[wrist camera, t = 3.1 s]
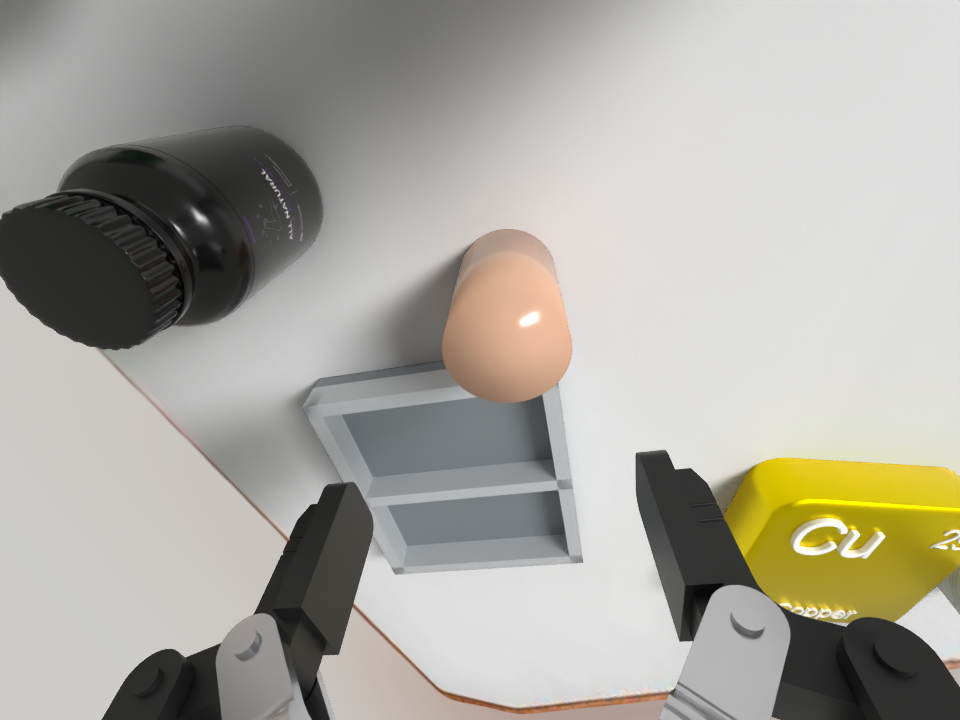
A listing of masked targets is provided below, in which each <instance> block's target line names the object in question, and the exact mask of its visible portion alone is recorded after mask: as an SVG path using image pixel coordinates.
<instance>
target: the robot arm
mask: <svg viewBox="0 0 960 720" xmlns="http://www.w3.org/2000/svg"><path fill="white" fill-rule="evenodd" d="M636 496H637V502H638V507H639V511H640V515H641V518H642V521H643V524H644V528H645V531H646V534H647V537H648V541H649V544H650V547H651V550H652V554H653V557H654V560H655V563H656V567H657V570H658V573H659V576H660V580H661V583H662V586H663V589H664V593H665V596H666V599H667V602H668V606H669V609H670V612H671V615H672V619H673V622H674V625H675V628H676V631H677V635H678V638H679V641H680V642H681V641H693V644H692V646H691V649H690V652H689V654H688V657H687V659H686V662H685V664H684V667H683V670H682V672H681V675H680V677H679V680H678V682H677V684H676V687H675V688H674V690H672V691H671V693H670V695H669V696H668V699H667V701H666V703H665V705H664V708H663V710H662V712H661V715H660V718H659V720H771V717H774V718H777V719H780V720H960V687H959V685H958V684H957V683H956V681H955V680H954V678H953V677H952V675H951V674H950V672H949V671H948V669H947V668H946V666H945V665H944V663H943V662H942V660H941V659H940V658H939V656H938V655H937V654H936V653H935V651H934V650H933V649H932V648H931V647H930V646H929V645H928V644H927V643H926V642H924V641H923V640H922V639H921V638H920V637H918V636H917V635H916V634H914V633H913V632H911V631H910V630H908V629H906V628H904V627H903V626H900V625H898V624H896V623H894V622H891V621H888V620H885V619H881V618H875V617H862V618H859V619H855V620H854V621H852V622H850V623H849V624H848V625H847V627H844V626H840V625H836V624H832V623H828V622H824V621H820V620H816V619H812V618H808V617H805V616H802V615H798V614H796V613H793V612H791V611H789V610H787V609H785V608H783V607H782V606H780V605H779V604H777V603H776V602H774V601H773V600H772V599H771V598H770V597H768V596H767V595H766V594H765V592H764V591H763V590H762V589H761V588H760V587H759V585H758V584H757V582H756V580H755V579H754V577H753V575H752V573H751V571H750V569H749V567H748V565H747V563H746V561H745V559H744V557H743V555H742V553H741V551H740V549H739V547H738V545H737V543H736V541H735V538H734V536H733V534H732V532H731V530H730V528H729V526H728V524H727V522H726V521H725V520H724V516H723V514H722V512H721V510H720V508H719V506H718V505H717V503H716V500H715V498H714V496H713V494H712V492H711V490H710V488H709V486H708V484H707V483H706V482H705V481H704V480H703V479H702V478H701V477H700V476H699V475H698V474H697V473H696V472H694V471H693V470H692V469H691V468H688V469H678V470H675V469H674V466H673V464H672V462H671V459H670V457H669V455H668V453H667V451H666V450H659V451H649V452H640V453H636ZM373 528H374V524H373V517H372V514H371V511H370V510H369V508H368V506H367V504H366V502H365V500H364V498H363V496H362V494H361V492H360V490H359V488H358V486H357V485H356V484H355V483H354V482H345V483H336V484H328V485H327V486H326V487H325V488H324V490H323V492H322V494H321V497H320V499H319V501H318V504H312V505H310V506H309V507H308V509H307V510H306V511H305V512H304V513H303V514H302V516H301V517H300V518H299V519H298V520H297V522H296V525H295V527H294V529H293V531H292V533H291V535H290V541H288V542H287V544H286V546H285V548H284V551H283V555H281V557H280V560H279V561H278V564H277V566H276V568H275V570H274V572H273V574H272V577H271V579H270V581H269V583H268V585H267V587H266V590H265V592H264V594H263V596H262V598H261V600H260V603H259V605H258V607H257V609H256V611H255V613H254V614H253V615H252V616H250V617H247V618H246V619H244V620H242V621H241V622H240V623H238V624H237V625H236V626H235V627H234V628H233V629H232V630H231V631H230V632H229V633H228V634H227V636H226V637H225V638H224V640H223V642H222V643H221V644H218V645H215V646H213V647H210V648H208V649H205V650H203V651H201V652H198V653H196V654H193V655H191V656H189V657H186V658H185V657H184V656H183V655H181V654H180V653H179V652H178V651H176V650H174V649H165V650H161V651H158V652H156V653H154V654H152V655H151V656H149V657H148V658H146V659H145V660H144V661H143V662H141V663H140V664H139V665H138V666H137V667H136V668H135V669H134V670H133V671H132V672H131V673H130V674H129V675H128V677H127V678H126V679H125V681H124V682H123V684H122V686H121V687H120V689H119V691H118V693H117V694H116V696H115V698H114V699H113V701H112V703H111V705H110V707H109V708H108V710H107V711H106V713H105V715H104V717H103V718H102V720H336V719H335V716H334V713H333V710H332V707H331V704H330V700H329V697H328V694H327V691H326V687H325V684H324V681H323V678H322V675H321V672H320V671H319V666H320V663H321V659H322V656H323V655H338V654H339V652H340V648H341V645H342V641H343V638H344V634H345V631H346V627H347V624H348V620H349V617H350V613H351V610H352V606H353V603H354V599H355V595H356V592H357V588H358V585H359V581H360V578H361V574H362V571H363V567H364V564H365V560H366V557H367V553H368V550H369V546H370V543H371V539H372V535H373Z"/></svg>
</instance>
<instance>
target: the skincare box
mask: <svg viewBox="0 0 960 720" xmlns="http://www.w3.org/2000/svg"><path fill="white" fill-rule="evenodd" d="M937 587H938V588H939V589H940V590H941V591H942V593H943V594H944V595H945V596H946V598H947V599H948V600H949V602H950V603H951V604H952V605H953V607H954V608H955V609H956V610H957V611H958V613H959V614H960V566H959V567H958V568H957V569H955V570H954V571H953V572H952V573H951V574H950V575H949V576H948V577H946V578H945V579H944V580H943V581H942V582H941V583H940V584H939V585H937Z"/></svg>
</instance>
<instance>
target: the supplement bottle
mask: <svg viewBox="0 0 960 720" xmlns="http://www.w3.org/2000/svg"><path fill="white" fill-rule="evenodd" d="M322 215H323V207H322V199H321V195H320V191H319V188H318V185H317V183H316V180H315V178H314V176H313V174H312V173H311V171H310V169H309V168H308V166H307V165H306V163H305V162H304V161H303V159H302V158H301V157H300V156H299V155H298V154H297V153H296V152H295V151H294V150H293V149H292V148H291V147H290V146H289V145H287V144H286V143H285V142H283V141H282V140H280V139H279V138H277V137H275V136H274V135H272V134H270V133H267V132H265V131H263V130H260V129H256V128H252V127H246V126H229V127H221V128H214V129H208V130H202V131H196V132H190V133H184V134H179V135H173V136H167V137H161V138H155V139H149V140H143V141H137V142H131V143H125V144H120V145H114V146H109V147H105V148H102V149H98V150H95V151H92V152H90V153H87V154H85V155H84V156H82V157H81V158H79V159H78V160H76V161H75V162H74V163H73V164H72V165H71V166H70V167H69V169H68V170H67V171H66V172H65V174H64V176H63V177H62V179H61V181H60V183H59V186H58V189H57V193H55V194H52V195H50V196H48V197H46V198H44V199H41V200H37V201H33V202H29V203H25V204H22V205H19V206H16V207H15V208H13V210H10V211H7V212H5V213H3V215H2V219H1V220H0V276H1V277H2V278H3V280H4V281H5V283H6V286H7V288H8V289H9V290H10V291H11V292H12V293H13V294H14V295H15V297H16V299H17V300H18V302H19V303H21V304H22V305H23V306H24V307H26V309H27V310H28V311H29V313H30V314H31V315H33V316H35V317H36V318H38V319H39V320H40V321H41V322H42V323H43V324H44V325H46V326H48V327H50V328H52V329H53V330H55V331H56V332H57V333H58V334H61V335H63V336H67V337H68V338H70V339H71V340H73V341H75V342H80V343H83V344H85V345H87V346H89V347H97V348H100V349H103V350H104V349H112V350H119V349H121V348H123V349H129V348H132V347H134V346H135V345H140V344H142V343H144V342H146V341H147V340H148V339H150V338H151V337H153V336H154V335H155V334H157V333H158V332H160V331H162V330H165V329H167V328H169V327H170V326H179V327H191V326H201V325H206V324H210V323H213V322H216V321H218V320H221V319H223V318H224V317H226V316H228V315H229V314H231V313H232V312H234V311H235V310H236V309H237V308H239V307H240V306H241V305H242V304H244V303H245V302H246V301H247V300H248V299H250V298H251V297H252V296H253V295H254V294H255V293H257V292H258V291H259V290H260V289H261V288H263V287H264V286H265V285H266V284H267V283H269V282H270V281H271V280H272V279H273V278H275V277H276V276H277V275H278V274H279V273H281V272H282V271H283V270H284V269H285V268H287V267H288V266H289V265H290V264H291V263H292V262H294V261H295V260H296V259H297V258H298V257H300V256H301V255H302V254H303V253H304V252H305V251H306V250H307V249H308V248H309V247H310V246H311V245H312V243H313V242H314V241H315V239H316V237H317V235H318V233H319V231H320V227H321V223H322Z"/></svg>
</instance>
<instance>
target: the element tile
mask: <svg viewBox="0 0 960 720" xmlns="http://www.w3.org/2000/svg"><path fill="white" fill-rule="evenodd" d="M724 520H725V521H726V522H727V524H728V526H729V528H730V530H731V532H732V534H733V536H734V538H735V541H736V543H737V545H738V547H739V549H740V551H741V553H742V555H743V557H744V559H745V561H746V563H747V565H748V567H749V569H750V571H751V573H752V575H753V577H754V579H755V580H756V582H757V584H758V585H759V587H760V588H761V589H762V590H763V591H764V592H765V594H766V595H767V596H768V597H770V598H771V599H772V600H773V601H774V602H776V603H777V604H779V605H780V606H782V607H783V608H785V609H787V610H789V611H791V612H793V613H796V614H798V615H802V616H805V617H808V618H812V619H816V620H820V621H828V622H842V623H850V622H852V621H854V620H855V619H859V618H862V617H875V618H881V619H885V620H888V621H891V622H895V621H896V620H898V619H899V618H901V617H902V616H903V615H905V614H906V613H907V612H908V611H909V610H910V609H911V608H913V607H914V606H915V605H916V604H917V603H918V602H919V601H920V600H922V599H923V598H924V597H925V596H926V595H927V594H928V593H930V592H931V591H932V590H933V589H934V588H935V587H936V586H937V585H939V584H940V583H941V582H942V581H943V580H944V579H945V578H946V577H948V576H949V575H950V574H951V573H952V572H953V571H954V570H955V569H957V568H958V567H959V566H960V477H959V476H958V475H957V474H956V473H955V472H953V471H951V470H949V469H947V468H942V467H933V466H916V465H900V464H883V463H867V462H850V461H834V460H817V459H801V458H776V459H771V460H766V461H764V462H762V463H760V464H758V465H756V466H755V467H754V468H752V469H751V470H750V471H749V472H748V473H747V474H746V476H745V478H744V480H743V482H742V483H741V485H740V487H739V489H738V491H737V493H736V495H735V496H734V498H733V500H732V502H731V504H730V506H729V508H728V509H727V511H726V513H725V515H724Z"/></svg>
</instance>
